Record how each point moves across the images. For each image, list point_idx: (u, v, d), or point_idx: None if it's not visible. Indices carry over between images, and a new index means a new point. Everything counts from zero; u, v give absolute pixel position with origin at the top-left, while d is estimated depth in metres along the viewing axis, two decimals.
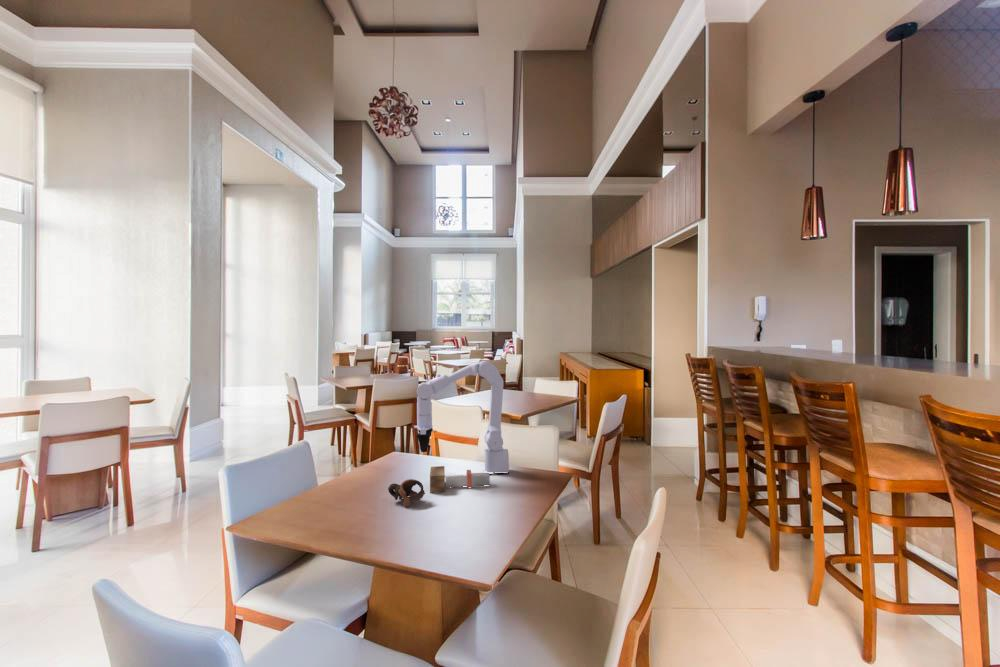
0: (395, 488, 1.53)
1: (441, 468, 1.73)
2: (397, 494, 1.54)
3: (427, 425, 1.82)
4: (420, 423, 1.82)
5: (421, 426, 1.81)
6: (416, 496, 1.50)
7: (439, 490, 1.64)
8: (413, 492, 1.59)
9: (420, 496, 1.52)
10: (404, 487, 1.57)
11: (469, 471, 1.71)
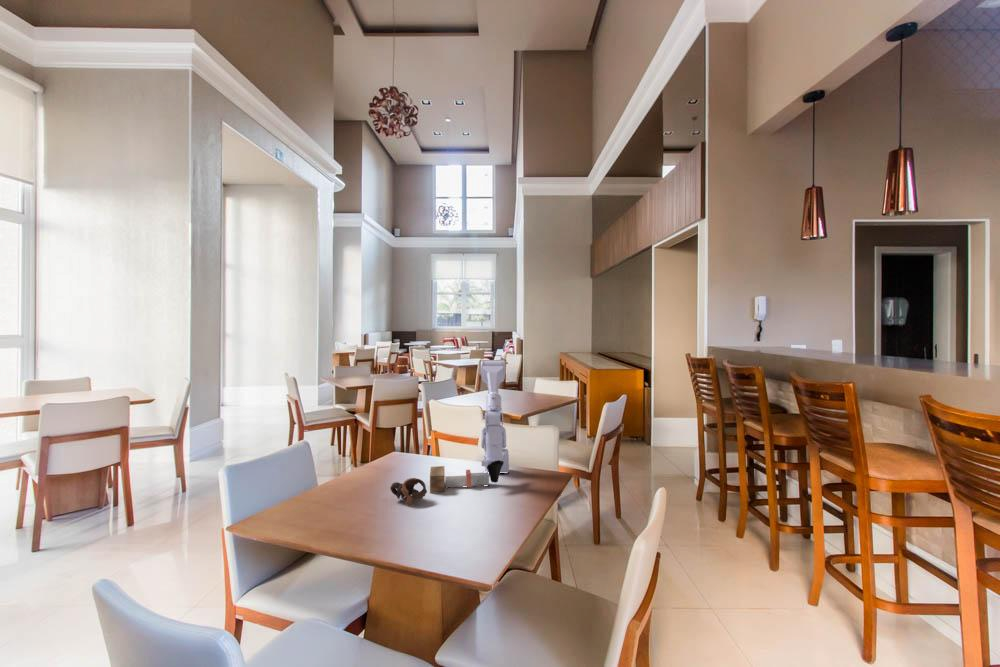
0: (397, 487, 1.54)
1: (441, 468, 1.73)
2: (399, 493, 1.56)
3: (493, 456, 1.69)
4: (487, 453, 1.70)
5: (488, 456, 1.70)
6: (419, 495, 1.52)
7: (439, 490, 1.64)
8: (415, 491, 1.60)
9: (422, 495, 1.53)
10: (406, 486, 1.58)
11: (468, 471, 1.72)
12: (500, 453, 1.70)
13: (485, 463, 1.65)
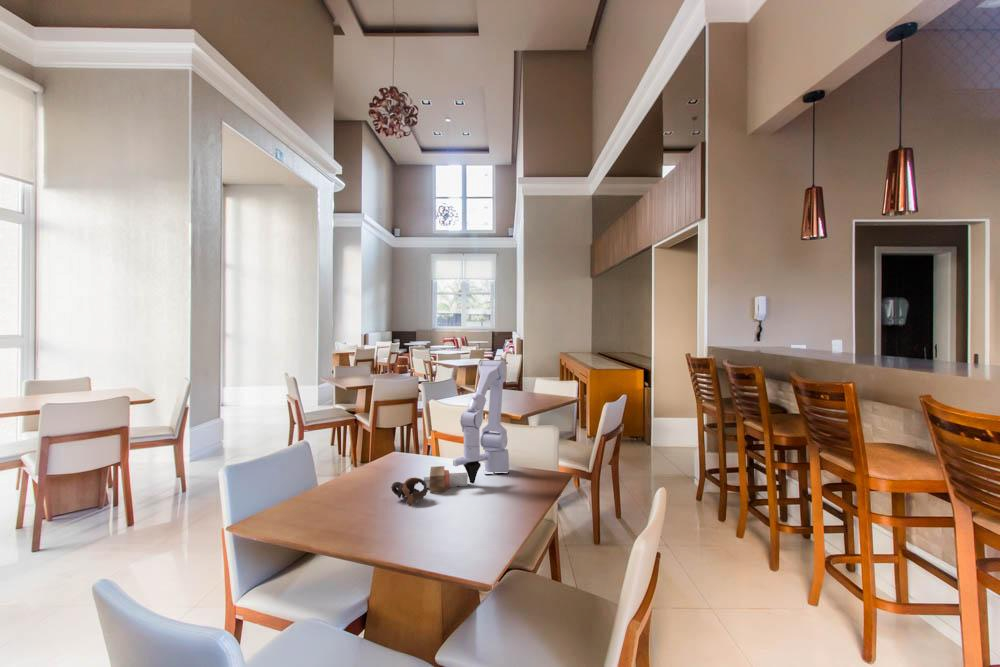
0: (398, 486, 1.55)
1: (441, 468, 1.73)
2: (400, 492, 1.56)
3: (467, 457, 1.68)
4: None
5: (463, 457, 1.70)
6: (420, 494, 1.52)
7: (439, 490, 1.64)
8: (416, 490, 1.60)
9: (423, 494, 1.54)
10: (407, 485, 1.59)
11: (447, 471, 1.71)
12: (475, 455, 1.68)
13: (455, 463, 1.66)
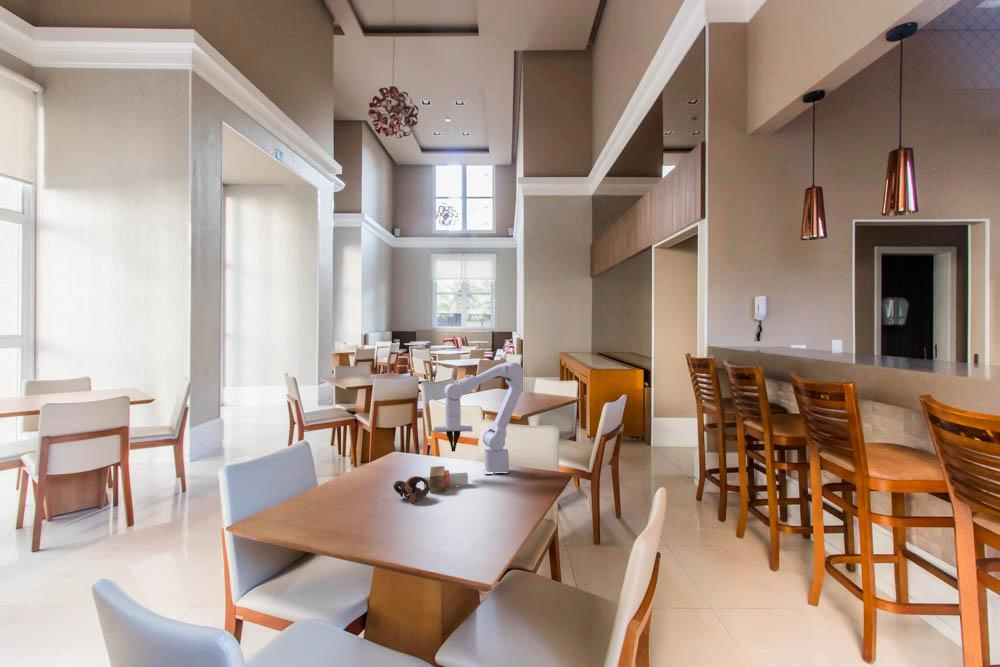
0: (401, 485, 1.56)
1: (441, 468, 1.73)
2: (402, 491, 1.57)
3: (446, 426, 1.81)
4: None
5: None
6: (422, 492, 1.54)
7: (439, 490, 1.64)
8: (417, 489, 1.62)
9: (426, 492, 1.55)
10: (409, 484, 1.60)
11: (447, 471, 1.71)
12: (452, 424, 1.79)
13: (434, 429, 1.81)
